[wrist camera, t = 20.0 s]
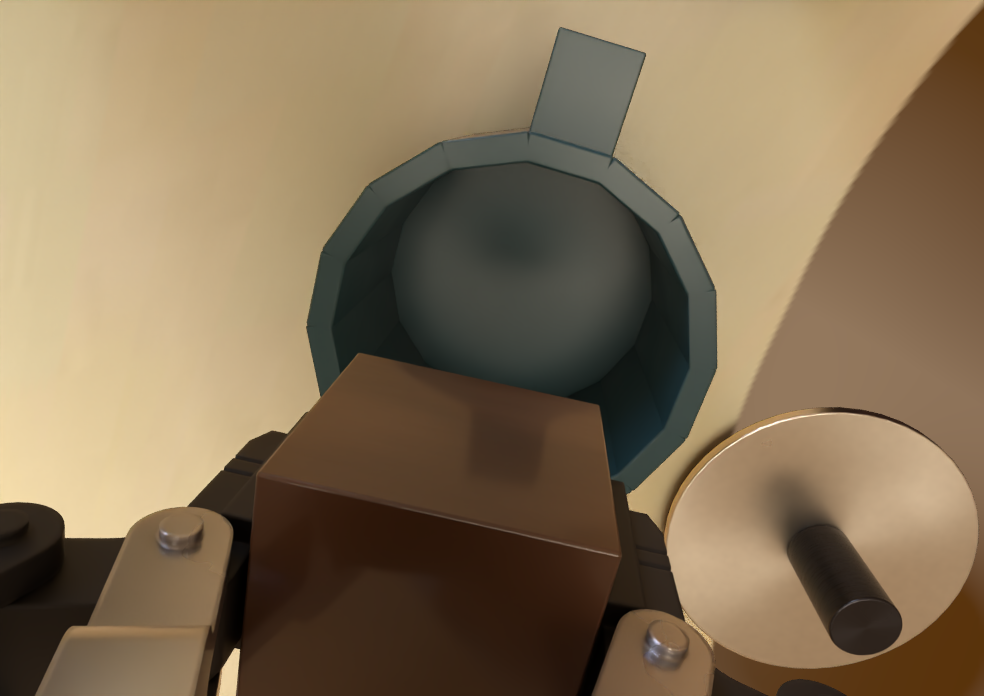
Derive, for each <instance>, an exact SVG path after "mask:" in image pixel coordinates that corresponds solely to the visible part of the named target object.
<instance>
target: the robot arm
mask: <svg viewBox="0 0 984 696" xmlns="http://www.w3.org/2000/svg"><path fill="white" fill-rule="evenodd" d="M307 413H308V412H306V413H305V414H304V415H303V416H302V417H301V419H300V420H299V421H298V422H297V423H296V424H295V426H294V427H293V428H292V429H291V430H290V431H289V433H288V434H285V433H281V432H276V431H270V432H268V433H266V434H264V435H261V436H259V437H257V438H255V439H252V440H250V441H249V442H248V443H247V444H246V445H245V446H244V447H243V448H242V449H241V450H240V451H239V452H238V454H237V455H236V457H235V458H233V459H232V460H231V461H230V462H229V463H228V464H227V465H226V466H225V467H224V471H222V470H221V471H220V473H219V474H218V475H217V476H216V477H215V478H214V479H213V480H212V481H211V482H210V483H209V484H208V485H207V486H206V487H205V488H204V489H203V490H202V492H201V493H200V494H199V495H198V496H197V497H196V498H195V499H194V500H193V501H192V502H191V503H190V504H189V505H188V506H187V507H176V508H169V509H164V510H161V511H157V512H154V513H152V514H150V515H147V516H146V517H144V518H142V519H140V520H139V521H138V522H136V523H135V524H134V525H133V526H132V527H131V528H130V530H129V532H128V533H127V535H126V537H125V538H65V525H64V520H63V518H62V516H61V515H60V514H59V513H58V512H57V511H55V510H54V509H52V508H49V507H47V506H44V505H40V504H34V503H21V502H16V503H4V504H0V696H219V690H220V685H221V675H222V667H223V666H224V664H225V663H226V661H227V659H228V658H229V656H230V654H231V653H232V651H233V649H234V648H237V649H240V647H241V636H242V626H243V615H244V604H245V593H246V582H247V572H248V561H249V550H250V539H251V529H252V518H253V507H254V496H255V485H256V475H257V473H258V471H259V470H260V469H261V468H262V467H263V465H264V464H265V463H266V462H267V461H268V459H269V458H270V457H271V456H272V455H273V454H274V452H275V451H276V450H277V449H278V448H279V446H280V445H281V444H282V443H283V442H284V441H285V439H286V438H287V437H288V436H289V435H290V433H291V432H292V431H293V430H294V429H295V428H296V426H297V425H298V424H299V423H300V422H301V420H302V419H303V418H304V417H305V416H306V414H307ZM611 485H612V492H613V499H614V505H615V512H616V519H617V526H618V532H619V539H620V546H621V552H622V558H621V561H620V564H619V567H618V570H617V574H616V577H615V580H614V583H613V587H612V590H611V593H610V596H609V599H608V603H607V606H606V609H605V612H604V615H603V619H602V622H601V625H600V628H599V631H598V635H597V638H596V641H595V644H594V647H593V651H592V654H591V657H590V660H589V663H588V667H587V670H586V673H585V676H584V680H583V683H582V686H581V689H580V692H579V696H767V695H765V694H763V693H761V692H759V691H757V690H755V689H753V688H750V687H748V686H746V685H744V684H742V683H740V682H738V681H736V680H734V679H732V678H730V677H728V676H727V675H726V674H724V673H722V672H721V671H719V670H718V669H717V668H716V667H715V657H714V654H713V651H712V649H711V647H710V646H709V644H708V642H707V641H706V640H705V639H704V637H703V636H702V635H701V634H700V633H699V632H698V631H697V630H696V629H694V628H693V627H692V626H690V625H689V624H688V623H686V622H685V619H684V615H683V611H682V607H681V603H680V600H679V596H678V592H677V588H676V584H675V580H674V576H673V572H671V564H670V561H669V557H668V556H667V549H666V545H665V541H664V537H663V533H662V532H661V531H660V530H659V528H658V527H657V526H656V525H655V523H654V522H653V521H652V520H651V519H650V517H649V516H648V515H647V514H643V513H639V512H634V511H630V510H629V507H628V502H627V496H626V491H625V486H624V483H623V482H621V481H616V480H611ZM776 696H846V695H845V694H843V693H841V692H840V691H838V690H836V689H834V688H832V687H829V686H827V685H824V684H822V683H819V682H815V681H810V680H803V679H797V680H791V681H788V682H786V683H784V684H783V685H782V686H781V687H780V688H779V690H778V692H777V694H776Z"/></svg>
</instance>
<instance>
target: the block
mask: <svg viewBox="0 0 984 696" xmlns="http://www.w3.org/2000/svg"><path fill="white" fill-rule="evenodd" d="M621 558H622V552H621V546H620V539H619V532H618V526H617V519H616V512H615V505H614V499H613V492H612V485H611V479H610V472H609V465H608V458H607V452H606V445H605V438H604V432H603V425H602V418H601V411H600V406H599V405H596V404H592V403H587V402H582V401H578V400H573V399H569V398H564V397H560V396H555V395H550V394H546V393H541V392H537V391H532V390H528V389H523V388H518V387H514V386H509V385H505V384H500V383H496V382H491V381H486V380H482V379H477V378H473V377H468V376H464V375H459V374H454V373H450V372H445V371H441V370H436V369H432V368H427V367H422V366H418V365H413V364H409V363H404V362H400V361H395V360H390V359H386V358H381V357H377V356H372V355H367V354H363V353H358V354H357V355H356V357H355V358H354V359H353V360H352V361H351V362H350V364H349V365H348V366H347V367H346V368H345V370H344V371H343V372H342V373H341V374H340V375H339V377H338V378H337V379H336V380H335V381H334V383H333V384H332V385H331V386H330V387H329V388H328V390H327V391H326V392H325V393H324V394H323V396H322V397H321V398H320V399H319V400H318V401H317V403H316V404H315V405H314V406H313V407H312V409H311V410H310V411H309V412H308V413H307V414H306V416H305V417H304V418H303V419H302V420H301V422H300V423H299V424H298V425H297V426H296V428H295V429H294V430H293V431H292V432H291V433H290V435H289V436H288V437H287V438H286V439H285V441H284V442H283V443H282V444H281V445H280V446H279V448H278V449H277V450H276V451H275V452H274V454H273V455H272V456H271V457H270V458H269V459H268V461H267V462H266V463H265V464H264V465H263V467H262V468H261V469H260V470H259V471H258V473H257V475H256V485H255V496H254V507H253V518H252V529H251V539H250V550H249V561H248V572H247V582H246V593H245V604H244V615H243V626H242V636H241V647H240V658H239V669H238V680H237V690H236V696H579V692H580V689H581V686H582V683H583V680H584V676H585V673H586V670H587V667H588V663H589V660H590V657H591V654H592V651H593V647H594V644H595V641H596V638H597V635H598V631H599V628H600V625H601V622H602V619H603V615H604V612H605V609H606V606H607V603H608V599H609V596H610V593H611V590H612V587H613V583H614V580H615V577H616V574H617V570H618V567H619V564H620V561H621Z"/></svg>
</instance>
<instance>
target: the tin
mask: <svg viewBox="0 0 984 696" xmlns="http://www.w3.org/2000/svg"><path fill="white" fill-rule="evenodd" d="M645 57H646V53H644V52H641V51H637V50H634V49H631V48H628V47H624V46H621V45H618V44H614V43H611V42H608V41H605V40H601V39H598V38H595V37H591V36H588V35H585V34H582V33H578V32H575V31H572V30H569V29H565V28H562V27H560V28H559V30H558V33H557V37H556V40H555V44H554V47H553V51H552V54H551V57H550V61H549V64H548V68H547V71H546V75H545V78H544V82H543V85H542V89H541V92H540V95H539V99H538V102H537V106H536V109H535V113H534V116H533V120H532V123H531V126H530V127H529V128H521V129H512V130H504V131H496V132H487V133H479V134H472V135H468V136H463V137H459V138H454V139H450V140H445V141H442V142H439V143H437V144H435V145H434V146H432V147H430V148H428V149H427V150H425V151H423V152H422V153H420V154H418V155H417V156H415V157H413V158H412V159H410V160H408V161H406V162H405V163H403V164H401V165H400V166H398V167H396V168H395V169H393V170H391V171H390V172H388V173H386V174H384V175H383V176H381V177H379V178H378V179H376V180H374V181H373V182H371V183H370V184H369V185H368V186H367V187H366V188H365V189H364V190H363V192H362V193H361V195H360V196H359V198H358V199H357V200H356V202H355V203H354V205H353V206H352V207H351V209H350V210H349V212H348V213H347V214H346V216H345V217H344V219H343V220H342V222H341V223H340V224H339V226H338V227H337V229H336V230H335V231H334V233H333V234H332V236H331V237H330V238H329V240H328V241H327V243H326V244H325V245H324V247H323V251H322V252H321V255H320V260H319V265H318V269H317V274H316V279H315V284H314V289H313V294H312V299H311V304H310V309H309V314H308V319H307V327H306V329H307V333H308V338H309V343H310V348H311V353H312V357H313V362H314V367H315V372H316V377H317V382H318V386H319V391H320V396H321V397H322V396H323V394H324V393H325V392H326V391H327V390H328V388H329V387H330V386H331V385H332V384H333V383H334V381H335V380H336V379H337V378H338V377H339V375H340V374H341V373H342V372H343V371H344V370H345V368H346V367H347V366H348V365H349V364H350V362H351V361H352V360H353V359H354V358H355V357H356V355H357V354H358V353H363V354H367V355H372V356H377V357H381V358H386V359H390V360H395V361H400V362H404V363H409V364H413V365H418V366H422V367H427V368H432V369H436V370H441V371H445V372H450V373H454V374H459V375H464V376H468V377H473V378H477V379H482V380H486V381H491V382H496V383H500V384H505V385H509V386H514V387H518V388H523V389H528V390H532V391H537V392H541V393H546V394H550V395H555V396H560V397H564V398H569V399H573V400H578V401H582V402H587V403H592V404H596V405H599V406H600V411H601V418H602V425H603V432H604V438H605V445H606V452H607V458H608V465H609V472H610V479H611V480H616V481H621V482H623V483H624V486H625V491H626V494H628V493H630V492H631V491H632V490H635V489H636V488H637V487H638V486H639V485H640V484H641V483H642V482H643V481H644V480H645V479H646V478H647V477H648V476H649V475H650V474H651V473H652V472H653V471H655V470H656V469H657V468H658V467H659V466H660V465H661V464H662V463H663V462H664V461H665V460H666V459H667V458H668V457H669V456H670V455H671V454H672V453H673V452H674V451H675V450H676V449H677V448H678V447H679V446H680V445H681V444H682V443H683V442H684V441H685V439H686V438H687V437H688V435H689V433H690V430H691V428H692V426H693V424H694V421H695V419H696V417H697V414H698V412H699V410H700V407H701V405H702V403H703V400H704V398H705V396H706V393H707V391H708V389H709V386H710V384H711V382H712V379H713V377H714V375H715V372H716V369H717V307H716V290H715V286H714V284H713V282H712V280H711V278H710V276H709V273H708V271H707V269H706V267H705V265H704V263H703V261H702V258H701V256H700V254H699V252H698V250H697V248H696V246H695V243H694V241H693V239H692V237H691V235H690V233H689V231H688V229H687V226H686V224H685V222H684V220H683V218H682V216H680V215H679V212H678V211H677V210H676V209H675V208H673V207H672V206H671V205H670V204H669V203H668V202H666V201H665V200H664V199H663V198H662V197H661V196H659V195H658V194H657V193H656V192H655V191H654V190H652V189H651V188H650V187H649V186H648V185H647V184H645V183H644V182H643V181H642V180H641V179H640V178H638V177H637V176H636V175H635V174H634V173H633V172H631V171H630V170H629V169H628V168H627V167H626V166H624V165H623V164H622V163H621V162H620V161H619V160H618V159H616V158H615V157H613V156H612V155H613V152H614V149H615V146H616V143H617V140H618V138H619V135H620V132H621V129H622V126H623V123H624V120H625V117H626V114H627V111H628V108H629V105H630V102H631V99H632V96H633V93H634V90H635V87H636V84H637V81H638V78H639V75H640V72H641V69H642V66H643V63H644V60H645Z"/></svg>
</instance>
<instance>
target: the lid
mask: <svg viewBox="0 0 984 696" xmlns="http://www.w3.org/2000/svg"><path fill="white" fill-rule="evenodd" d="M978 532H979V523H978V514H977V508H976V504H975V500H974V497H973V494H972V491H971V489H970V487H969V485H968V483H967V481H966V479H965V477H964V475H963V473H962V472H961V471H960V469H959V468H958V466H957V465H956V464H955V462H954V461H953V460H952V459H951V458H950V457H949V456H948V455H947V454H946V453H945V452H944V451H943V450H942V449H941V448H940V447H939V446H938V445H937V444H935V443H934V442H933V441H932V440H930V439H929V438H928V437H926V436H925V435H924V434H922V433H921V432H919V431H918V430H916V429H914V428H912V427H911V426H909V425H907V424H905V423H903V422H901V421H898V420H896V419H893V418H890V417H887V416H885V415H882V414H878V413H874V412H869V411H865V410H860V409H850V408H841V407H834V408H832V407H829V408H812V409H803V410H796V411H792V412H788V413H784V414H780V415H776V416H773V417H770V418H767V419H765V420H762V421H759V422H756V423H754V424H753V425H750V426H748V427H746V428H744V429H742V430H741V431H738V432H737V433H735V434H733V435H732V436H730V437H729V438H727V439H726V440H724V441H723V442H721V443H720V444H719V445H717V446H716V447H715V448H714V449H713V450H711V451H710V452H709V453H708V454H707V455H706V456H705V457H704V458H703V459H702V460H701V461H700V462H699V463H698V464H697V465H696V466H695V467H694V468H693V469H692V471H691V472H690V474H689V475H688V476H687V478H686V479H685V481H684V482H683V483H682V485H681V487H680V489H679V491H678V492H677V494H676V496H675V498H674V500H673V503H672V505H671V508H670V511H669V514H668V517H667V522H666V527H665V532H664V541H665V545H666V549H667V556H668V557H669V561H670V564H671V572H673V576H674V580H675V584H676V588H677V592H678V596H679V600H680V603H681V606H682V608H683V609H684V611H685V612H686V614H687V615H688V616H689V618H690V619H691V620H692V621H693V622H694V623H695V624H696V625H697V627H698V628H700V629H701V630H702V631H703V632H704V633H705V634H707V635H708V636H709V637H710V638H711V639H713V640H714V641H716V642H717V643H719V644H720V645H722V646H724V647H725V648H727V649H729V650H731V651H733V652H735V653H737V654H739V655H741V656H744V657H747V658H750V659H753V660H755V661H758V662H762V663H767V664H771V665H775V666H782V667H789V668H809V669H810V668H811V669H814V668H826V667H827V668H828V667H836V666H842V665H847V664H853V663H856V662H860V661H863V660H867V659H870V658H873V657H875V656H878V655H881V654H883V653H886V652H888V651H890V650H892V649H894V648H896V647H898V646H900V645H902V644H904V643H906V642H907V641H909V640H910V639H912V638H913V637H915V636H916V635H918V634H919V633H921V632H922V631H923V630H925V629H926V628H927V627H928V626H930V625H931V624H932V623H933V622H934V621H935V620H937V619H938V618H939V617H940V615H941V614H942V613H943V612H944V611H945V610H946V609H947V608H948V607H949V606H950V604H951V603H952V602H953V600H954V599H955V598H956V596H957V595H958V594H959V592H960V590H961V588H962V587H963V585H964V583H965V581H966V580H967V578H968V576H969V573H970V571H971V567H972V565H973V562H974V560H975V555H976V550H977V546H978V534H979V533H978Z"/></svg>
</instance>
